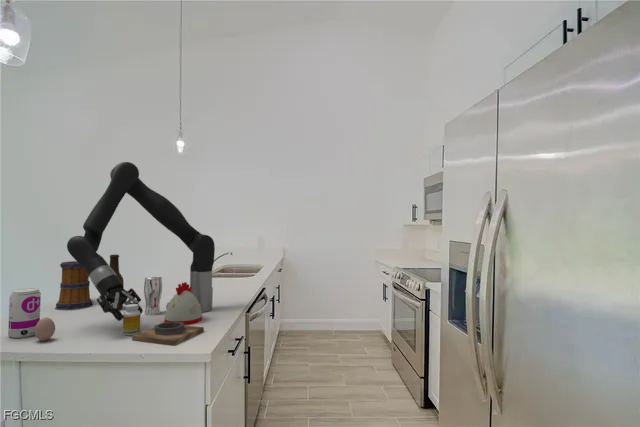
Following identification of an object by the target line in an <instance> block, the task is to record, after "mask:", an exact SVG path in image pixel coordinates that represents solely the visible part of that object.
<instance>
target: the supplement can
mask: <svg viewBox="0 0 640 427" xmlns="http://www.w3.org/2000/svg"><path fill="white" fill-rule="evenodd" d="M41 294H42V293H41V291H40V290H39V288H33V287H31V288H20V289H14V290H12V292H11V293H10V295H9V305H8V328H7V329H8V334H7V335H8V336H9V337H10V338H11V339H23V338H29V337H33V336H35V327H36V325H37V323H38V322H39V320H41V303H42V302H41V301H42V300H41V297H42V296H41Z"/></svg>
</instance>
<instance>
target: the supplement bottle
mask: <svg viewBox="0 0 640 427" xmlns="http://www.w3.org/2000/svg"><path fill="white" fill-rule="evenodd" d="M138 304H139V303H138ZM138 304H129V305H125V311H124V312H123V313H122V315H123V316H124V317H123V319H122V335H123V336H133V335H135V334H138V333H141V314H140V311H138Z"/></svg>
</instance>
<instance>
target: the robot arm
mask: <svg viewBox="0 0 640 427" xmlns="http://www.w3.org/2000/svg"><path fill="white" fill-rule="evenodd" d="M139 177H140V171H139V168H138V166H136V165H135V164H134V163H133V162H129V161H124V162H122V161H121V162H118V163H117V164H116V165H115V166H114V167H113V168H112V169H111V171H110V181H109V184H108V186H107V187H106V190H105V192H104V193H103V194H102V196H101V197H100V198H99V200H98V201H97V203H96V204H95V205H94V206H93V208H92V210H91V211H90V213H89V214H88V216H87V218H86V219H85V220H84V222H83V225H82V228H83V230H84V234H83V235H84V236H82V235H75V236H72V237H70V238H69V239H68V241H67V244H66V248H67V251H68V253H69V254H70V255H71V257H72V258H73V259H74V261H77V262H78V263H79V264H80V265H81V266H82V267H83V268H84V270H85V272H86V273H87V274H88V276H89V280H90V281H91V282H92V284H93V286H94V287H95V289H96V290H97V291H98V293H99V294H100V295H99V296H98V298H97V299H96V301H97V303H98V305H99V306H100V308H101V309H102V311H103V313H105V314H107V313H110V314H112V316H113V317H114V319H115V320H116V321H118V322H120V321H123V317H124V316H123V313H122V312H121V310H119V309H116V308H117V305H119V304H123V305H125V306H126V305H129V304H138V311H140V315H141V314H143V308H142V307H141V305H140V303H141V301H142V298H141V297H140V296H139V295H138V294H137V293H136V291H135V290H134V289H133V288H129V290H126V289H124V288H123V283H122V282H121V280H120V279H119V278H118V276H117V275H116V273H115V272H114V271H113V269H112V268H111V267H110V266H109V265H110V264H108V262H107V261H106V260H105V258H104V257H103V256H102V255H101V254H99V253H98V250H99V248H100V244H101V241H102V237H103V234H104V232H105V230H106V228H107V226H108V225H109V223H110V221H111V219H112V217H113V215H115V212H116V210H117V208H118V206H119V205H120V202H121V201H122V200H123V199H124V196H125V195H126V194H127V195H129V196H130V197H132V198H133V199H134V200H135V201H136V202H137V203H138V204H139V205H140V206H141V207H142V208H143V209H144V210H145V211H147V212H148V213H149V214H150V215H151V216H152V217H153V218H154V219H155V220H156V221H158V223H159V224H161V225H162V226H163V227H164V228H166V229H167V230H168V231H170V232H171V233H173V234H174V235H175V236H176V237H177V238H179V239H180V241H182V243H184V244H185V246H186V247H187V248H188V249H189V250H190V251H191V252H192V262H191V264H190V267H189V268H190V269H189V270H190V271H189V287H192V288H191V293H192V294H193V295H194V296H195V297H196V298H197V300H198V302H199V304H201V312H202V313H205V312H210V311H211V310H213V297H214V296H213V292H214V291H213V290H214V288H213V267H214V263H215V250H216V249H215V241H214V239H213V238H212V237H211V236H210V235H207V234H202V233H201V232H199V231H198V230H197V229H196V228H194V227H193V226H192V225H191V224H190V223H189V222H188V220H187V219H186V218H185V216H184V215H183V213H182V211H181V210H180V209H178V207H177V206H176V205H175V204H173V203H172V202H171V201H170V200H169V199H168V198H167V197H165V196H164V195H162V194H161V193H158V192H157V191H154V190H153V189H152V188H150V187H149V186H147V185H146V184H145V183H144V182H143V181H142V180H141V179H140V178H139ZM108 301H109V302H108ZM105 305H106V306H105Z"/></svg>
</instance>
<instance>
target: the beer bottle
mask: <svg viewBox="0 0 640 427" xmlns="http://www.w3.org/2000/svg"><path fill="white" fill-rule="evenodd" d="M109 258H110V259H109V264H108V265H109V266H110V267H111V268H112V269H113V271H114V272H115V273H116V275H117V276H118V278H119V279H120V280H121V282H122V283H123V288H124V282H125V281H124V278H123V276H122V274H121V273H120V266H119V265H120V262H119V261H120V260H119V259H120V255H119V254H110V255H109ZM108 302H109V301H108ZM105 306H106V305H105ZM123 308H124V304H119V305H117V308H116V309H119V310H120V311H121V310H122V309H123Z"/></svg>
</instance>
